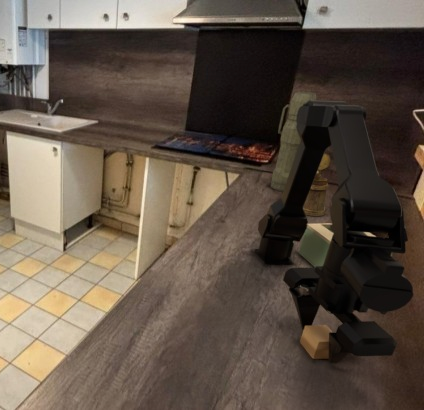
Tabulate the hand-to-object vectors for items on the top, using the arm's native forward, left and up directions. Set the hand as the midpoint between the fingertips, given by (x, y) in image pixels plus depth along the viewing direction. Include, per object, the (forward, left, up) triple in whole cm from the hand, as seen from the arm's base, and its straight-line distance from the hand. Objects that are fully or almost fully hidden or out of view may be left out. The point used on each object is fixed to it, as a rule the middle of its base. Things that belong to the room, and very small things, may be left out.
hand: (318, 345), depth 62 cm
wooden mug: (+36, +60, -1) cm, 70 cm away
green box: (+22, +26, -1) cm, 34 cm away
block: (0, 0, -1) cm, 1 cm away
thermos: (+38, +79, -1) cm, 88 cm away
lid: (+22, +26, +7) cm, 35 cm away
